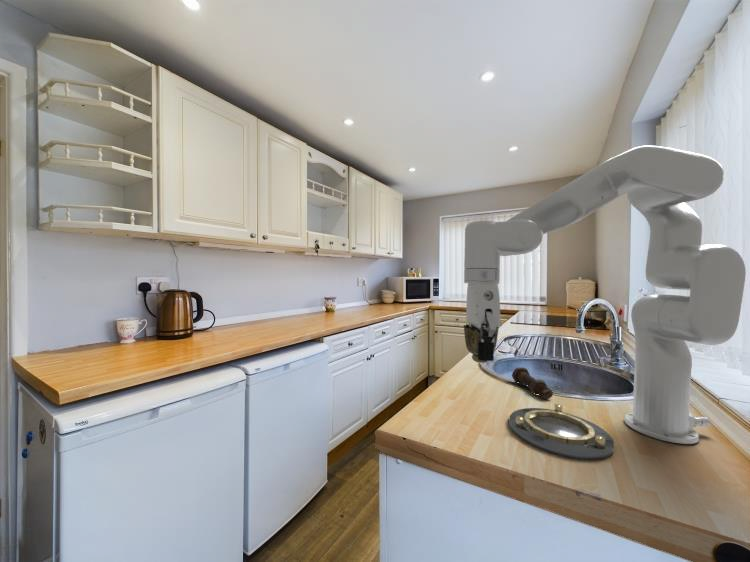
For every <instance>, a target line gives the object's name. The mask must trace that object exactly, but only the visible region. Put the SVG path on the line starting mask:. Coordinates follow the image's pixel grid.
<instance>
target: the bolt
mask: <svg viewBox="0 0 750 562" xmlns="http://www.w3.org/2000/svg"><path fill="white" fill-rule="evenodd" d="M511 377H512V379H513V381H514V382H515V381H516V382H519V383H518V384H524V385H525V386H527V385H528V386H527V387H528V388H529V387H530V388H529V389H530V392H531V393H532V392H533V393H535V394H539V395H540V397H541V398H543V399H545V400H548V399H551V398H552V397H553V395H554V392H553V390H552V389H551V388H550V387H548V386H547V384H546V382H545V381H544V380H543V379H536V378H534V377H532V376H531V374H530V373H529V370H528V369H527V368H526V367H515V369H514V370H513V371H512V374H511ZM516 382H515V383H516ZM533 393H532V394H533Z"/></svg>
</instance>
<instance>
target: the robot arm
mask: <svg viewBox="0 0 750 562" xmlns="http://www.w3.org/2000/svg"><path fill="white" fill-rule="evenodd" d="M724 178H725V173H724V169H723V167H722V165H721V163H720V162H718V161H717V160H716V159H714V158H712V157H711V156H708V155H704V154H701V153H695V152H691V151H686V150H681V149H676V148H672V147H665V146H657V145H641V146H637V147H634V148H631V149H629V150H627V151H624V152H623V153H621V154H617V155H616V156H614V157H611V158H609V159H607V160H605V161H603V162H602V163H600V164H598V165H596V166H595V167H593V168H591V169H590V170H587V171H586V172H585V173H583V174H582V175H580V176H578V177H577V178H575V179H573V180H572V181H571V182H568V183H567V184H565V185H563V186H562V187H560V188H559V189H557V190H556V191H554V192H552V193H550V194H548V195H546V196H545V197H544V198H542V199H540V200H539V201H538V202H536V203H534V204H532V205H531V206H529V207H528V208H525V210H522V211H520V212H519V213H517V214H516V215H514V216H512V217H511V218H509V219H507V220H505V221H494V220H475V221H471V222H468V224H466V226H465V228H464V258H463V259H464V263H463V264H464V265H463V266H464V272H463V284H467V290H466V305H465V306H466V307H465V309H466V310H465V311H466V312H465V313H466V315H465V317H466V318H465V319H466V322H467V324H468V325H469V326H471V328H473V327H476V328H478V330H479V338H480V342H478V360H480V361H488V362H491V361H492V362H493V361H494V355H495V353H494V352H495V350H494V336H495V331H496V329H499V330H500V328H501V301H500V300H501V299H500V289H499V285H500V278H501V277H500V271H501V269H500V267H501V266H500V265H501V257H509V256H517V255H518V256H520V255H524V254H528V253H532V252H533V251H535V250H536V249H537V248H538V247H539V246H540V245H541V243H542V241H543V236H544V235H545V234H547V233H548V234H549V233H551V232H554V231H556V230H559V229H560V230H561V229H562V228H565V227H569V226H571V225H574V224H576V223H578V222H580V221H581V220H584V219H585V218H586V217H588V216H590V215H591V214H593V213H594V212H596V211H598V210H599V209H601V208H603V207H604V206H605V205H608V204H609V203H611V202H612V201H615V200H616V199H618V198H620V197H622V196H623V195H627V200H628V201H629V203H630V204H631V205H632V207H634V209H636V210H637V211H638V212H639V213H641V215H642V216H643V217H644V219H646V221H647V222H648V226H649V231H650V232H649V233H650V234H649V243H648V251H647V257H646V263H645V278H646V281H647V282H648V283H649V284H650V285H651V286H653V287H656V288H661V289H667V290H668V289H669V290H682V291H683V290H684V291H689V296H687V295H676V294H664V293H663V294H661V293H660V294H656V293H655V294H649V295H645V296H643V297H641V298H639V299H638V300H636V301H635V303H634V304H633V306H632V307H631V310H630V311H631V313H630V317H631V323H632V327H633V332H634V340H635V341H634V342H635V345H634V348H635V352H634V354H635V356H634V374H633V375H634V376H633V377H634V378H633V400H632V401H633V402H632V403H633V405H632V412H629V413H626V414H625V415H624V423H625V424H626V425H627V426H628V427H630V428H632V429H633V430H635V431H636V432H638V433H641V434H643V435H645V436H648V437H650V438H654V439H656V440H661V441H664V442H669V443H673V444H680V445H693V444H696V443H698V442H699V441H700V439H699V438H700V436H699V435H700V434H699V433H698V432H697V431H696V430H695V429H694V428H696V427H697V426H700V427H710V426H711V425H712V424H711V423H712V422H711V420H710V418H708V417H705V416H694V415H693V414H691V413H690V411H691V410H690V405H691V389H692V388H691V386H692V385H691V384H692V383H691V382H692V368H693V366H692V365H693V360H692V359H693V358H692V354H691V351H690V348H689V346H688V345H687V342H691V343H694V344H695V343H696V344H701V345H707V346H717V345H721V344H725V343H727V342H728V341H730V339H731V338H733V336H734V335H735V333H736V331H737V328H738V325H739V322H740V316H741V309H742V304H743V297H744V291H745V282H746V274H747V273H746V270H747V269H746V264H745V262H744V260H743V257H742V256H741V255H740V253H739V252H738V251H736V250H735V249H734V248H732V247H730V246H727V245H723V244H703V245H702V236H703V235H702V233H703V224H702V221H701V219H700V217H699V215H698V214H697V213H696V212H695V211H694V210H693V209H692V208H691V207H690V206H689V205H688V204H687V203H689V202H695V201H698V200H702V199H705V198H706V197H710V196H711V195H713V194H714V193H715V192H717V191H718V189H720V188H721V186H722V184H723V182H724ZM482 326H484V327H482ZM485 326H487V327H485ZM483 330H484V331H485V333H484V335H483ZM486 330H487V331H486Z"/></svg>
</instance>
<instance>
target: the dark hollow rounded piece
mask: <svg viewBox="0 0 750 562" xmlns="http://www.w3.org/2000/svg"><path fill="white" fill-rule="evenodd" d="M482 327H487V326H482ZM499 330H500V328H499V329H496V331H495V336H494V351H495V350H496V348H497V342H498V334H499ZM486 331H487V330H486ZM463 333H464V342H465V346H466V349H467V351H468V352H469V353H470V354H471V359H472V360H473V362H476V363H481V364H484V363H488V362H489V361H480V360H478V342H480V338H479V330H478V328H476V327H473V328H471V326H469V323H466V324H464V325H463ZM484 333H485V331H484V330H483V335H484Z"/></svg>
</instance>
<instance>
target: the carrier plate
mask: <svg viewBox="0 0 750 562" xmlns="http://www.w3.org/2000/svg"><path fill="white" fill-rule="evenodd" d="M508 421H509V422H508V423H509V427H510V430H511V431H512V433H513V434H514V435H515V436H517V438H519V439H521V440H522V441H523V442H525V443H527V444H528V445H530V446H532V447H534V448H535V449H539V450H541V451H544V452H546V453H549V454H552V455H554V456H559V457H563V458H566V459H570V460H571V459H573V460H579V461H600V460H604V459H607V458H609V457H610V456H612V455H613V453H614V450H615V442H614V439H613V437H612V436H611V435H610V434H609V433H608V432H607V431H606V430H605V429H603V428H602V427H600V426H599V425H597V424H595V423H593V422H592V421H589V420H586V419H584V418H582V417H579V416H577V415H574V414H571V413H568V412H564V411H563V405H562V404H558V403H555V404H554V409H549V408H541V407H540V408H539V407H528V408H520V409H517V410H515V411H513V412H511V413H510V415H509V420H508Z"/></svg>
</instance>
